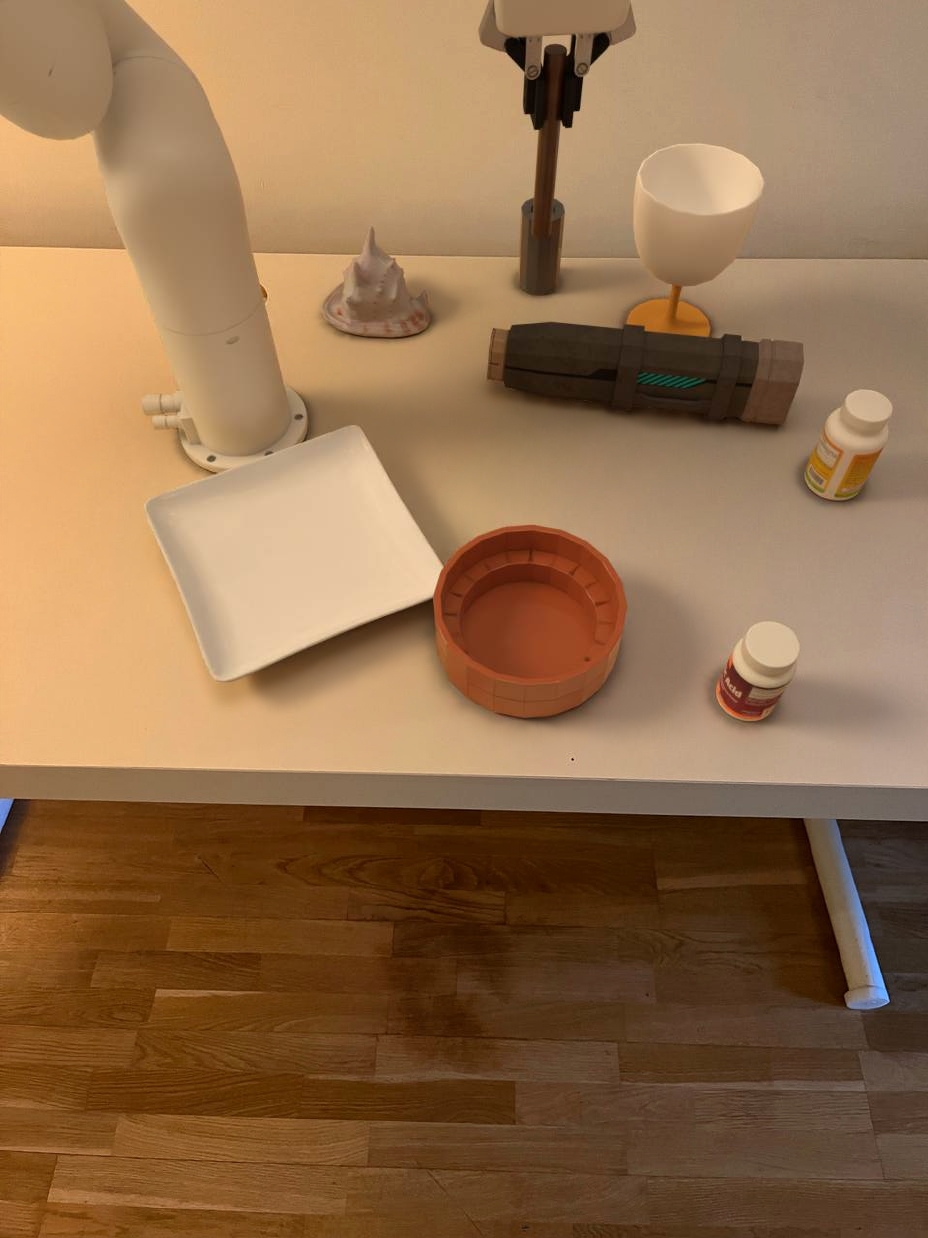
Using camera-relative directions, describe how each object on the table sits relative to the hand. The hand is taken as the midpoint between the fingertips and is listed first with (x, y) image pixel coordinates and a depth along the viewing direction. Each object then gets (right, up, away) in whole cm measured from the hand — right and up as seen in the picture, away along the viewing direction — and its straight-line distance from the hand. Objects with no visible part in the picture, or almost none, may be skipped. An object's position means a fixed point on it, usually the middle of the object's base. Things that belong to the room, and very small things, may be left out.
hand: (550, 118), depth 75 cm
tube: (+10, -19, +17) cm, 28 cm away
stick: (0, -6, +9) cm, 11 cm away
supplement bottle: (+28, -28, +11) cm, 41 cm away
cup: (+15, -10, +23) cm, 29 cm away
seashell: (-16, -7, +25) cm, 31 cm away
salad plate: (-22, -37, +6) cm, 43 cm away
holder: (+1, -3, +27) cm, 28 cm away
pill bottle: (+16, -48, -1) cm, 50 cm away
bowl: (-2, -43, +2) cm, 43 cm away
